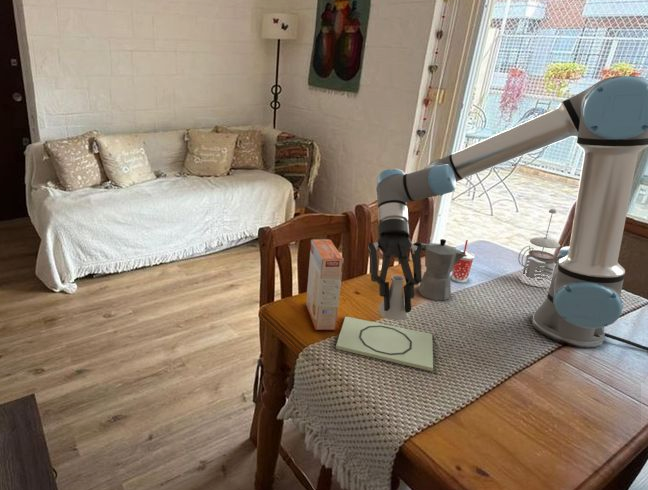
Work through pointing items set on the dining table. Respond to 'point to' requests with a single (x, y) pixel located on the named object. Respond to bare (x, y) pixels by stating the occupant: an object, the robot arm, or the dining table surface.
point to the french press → (540, 256)
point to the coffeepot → (438, 269)
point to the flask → (395, 300)
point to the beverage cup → (463, 267)
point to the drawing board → (386, 343)
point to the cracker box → (324, 284)
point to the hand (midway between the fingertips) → (397, 310)
